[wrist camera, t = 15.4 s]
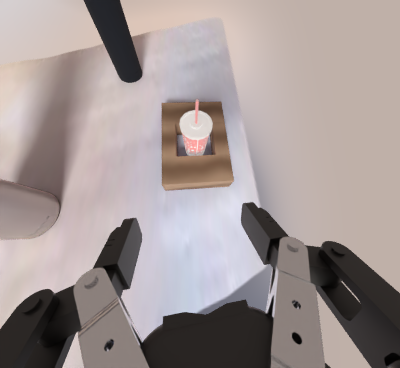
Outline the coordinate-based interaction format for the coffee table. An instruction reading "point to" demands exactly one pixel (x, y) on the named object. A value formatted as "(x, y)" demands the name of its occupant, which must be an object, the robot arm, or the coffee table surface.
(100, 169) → the coffee table surface
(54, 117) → the coffee table surface
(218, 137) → the wooden cup holder
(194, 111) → the beverage cup
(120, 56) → the black water bottle
